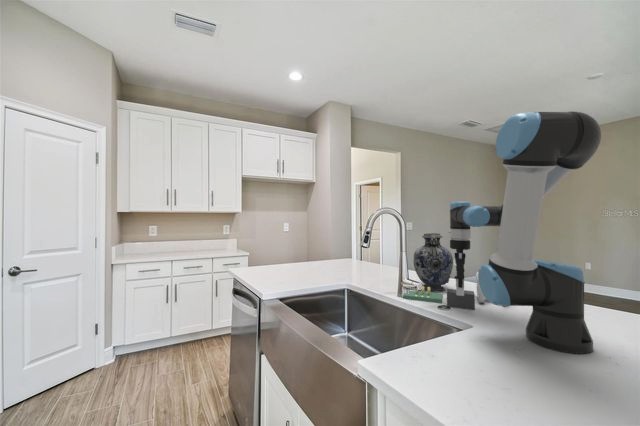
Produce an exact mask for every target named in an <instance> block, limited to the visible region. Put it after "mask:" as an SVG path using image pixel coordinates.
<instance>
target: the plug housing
mask: <svg viewBox="0 0 640 426" xmlns="http://www.w3.org/2000/svg"><path fill="white" fill-rule="evenodd" d="M475 297H476V294H475V292H474V291H473V290H465V289H464V296H459V295H456V289H455V288H446V307H447V308H456V309H463V310H464V309H465V310H472V311H475V309H476V307H475V305H476V298H475Z"/></svg>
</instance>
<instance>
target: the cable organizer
mask: <svg viewBox="0 0 640 426" xmlns="http://www.w3.org/2000/svg"><path fill="white" fill-rule="evenodd" d="M478 272H479V271H477V272H476V273H475V278H476V296H477V299H478V303H480V304H484V303H485V301H486V300H487V299H486V298H485V296H484V295H483V293H482V290H481V288H480V285H479V280H478Z"/></svg>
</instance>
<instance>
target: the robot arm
mask: <svg viewBox="0 0 640 426" xmlns="http://www.w3.org/2000/svg"><path fill="white" fill-rule="evenodd" d="M496 135H497V136H496V138H495V145H494V146H495V147H494V148H495V150H496V151H495V152H496V155H497V157H498V158H500V159H502V166H503V167H504V168H505V170H507V178H506V185H505V191H504V198H503V203H502V204H501V205H489V206H488V205H481V206H480V205H471V202H470V201H452V202H451V203H450V208H449V217H450V218H449V230H448V233H449V234H450V235H449V237H450V240H449V248H450V249H452V250H455V251H456V252H454V259H455V260H454V261H455V262H454V263H455V264H456V267H455V276H454V279H455V288H456V295H459V296H464V290H465V270H466V269H465V263H466V253H464V251H466V250H467V251H469V250H470V249H471V240H470V239H471V238H472V237H471V236H472V235H471V232H472V231H471V227H472V228H476V227H478V228H480V227H499V231H498V238H497V245H496V251H495V252H494V253H492V254H491V255H490V256H489V259H488V264H487V263H486V264H485V263H484V264H483V265H481V266H480V267H479V269H478V271H477V272H478V280H479V285H480V288H481V290H482V293H483V295H484V296H485V298H486V299H485V300H487V301H488V302H489V303H491V304H492V305H494V306H495V305H496V306H504V307H511V306H515V307H532V312H531V314H530V316H529V319H528V321H527V324H526V326H525V337H526V338H527V339H528V340H529V341H531V342H533V343H535V344H536V345H538V346H539V345H540V346H542V347H543V348H544V347H545V348H548V349H549V350H550V349H551V350H555V351H559V352H564V353H570V354H590V353H592V352H593V351H594V340H593V338H592V336H591V333H590V330H589V327H588V326H587V324H586V320H585V280H584V271H583V270H582V268H580V267H579V266H576V265H572V264H566V263H563V262H554V261H548V260H541V259H540V260H539V259H533V254H534V249H535V243H536V238H537V232H538V227H539V221H540V217H541V211H542V205H543V200H544V199H543V198H544V197H545V196H546V195H547V194H548V193H549V192H550V191H551V190H553V188H555V187H556V186H557V185H558V184H559V183H560V182H561V181H562V180H563V179H564V178H565V177H566V176H567V175H569V174H570V172H572V171H574V170H579V169H581V168H582V167H583V166H585V165H586V164H587V163H588V162H589V160H590V159H591V158H592V157H594V155H595V154H596V152H597V151H598V148H599V146H600V144H601V140H602V131H601V126H600V125H599V123H598V122H597V120H596V119H595V118H594V117H593V116H591V115H589V114H588V113H584V112H582V111H529V112H519V113H516V114H514V115H511V116H510V117H508V118H507V119H506V120H505V122H504V123H503V124H502V125H501V127H500V129H499V131H498V132H497V134H496Z"/></svg>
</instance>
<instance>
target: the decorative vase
mask: <svg viewBox="0 0 640 426" xmlns="http://www.w3.org/2000/svg"><path fill="white" fill-rule="evenodd" d="M421 237H422V238H423V239H424V245H423V246H419V247H418V248H416V249H415V251H414V253H413V267H414V270H415V273H416V276H417V277H418V278H419V280H420V281H421V282H422V283H423V285H422V286H424V289H425V290H424V291H427V287H430V292H434V291H440V292H444V291H445V287H444V285H446V284H449V282H450V279H451V274H452V271H453V266H454V257H453V253H452V251H450V250H449V249H448V248H446V247H444V246H442V245H441V238H443V236H442V235H441V233H435V232H433V233H432V232H431V233H423V235H422V236H421ZM443 290H444V291H443Z"/></svg>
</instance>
